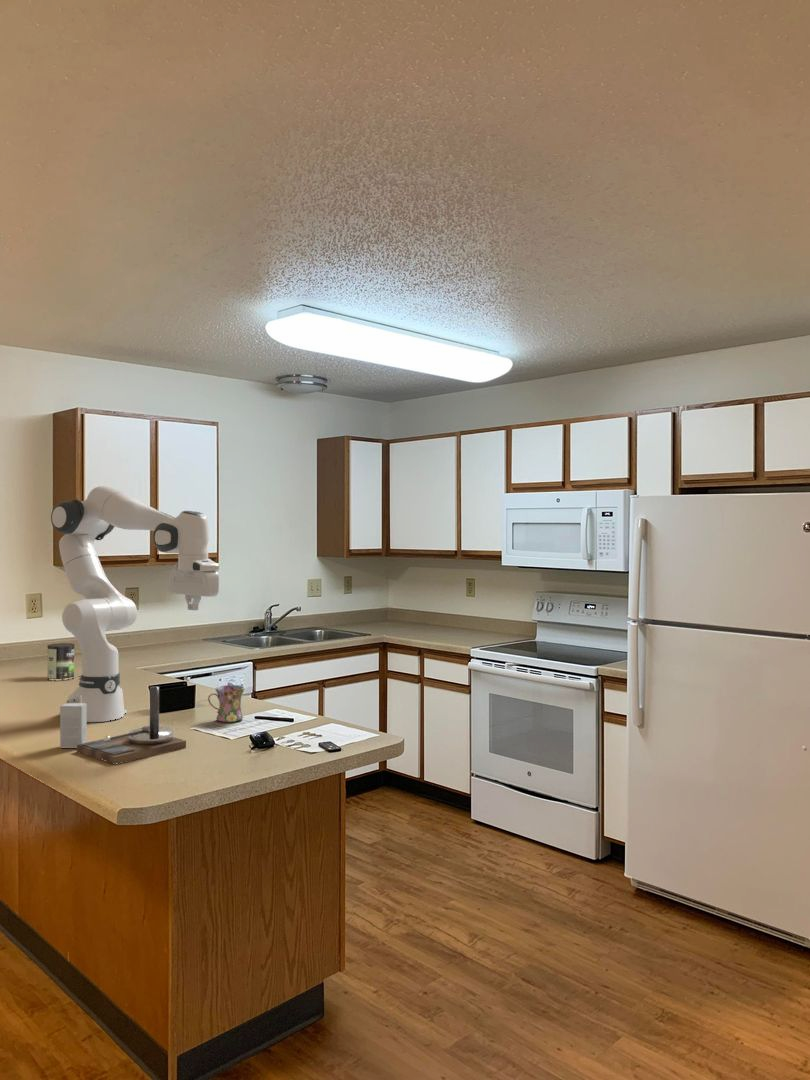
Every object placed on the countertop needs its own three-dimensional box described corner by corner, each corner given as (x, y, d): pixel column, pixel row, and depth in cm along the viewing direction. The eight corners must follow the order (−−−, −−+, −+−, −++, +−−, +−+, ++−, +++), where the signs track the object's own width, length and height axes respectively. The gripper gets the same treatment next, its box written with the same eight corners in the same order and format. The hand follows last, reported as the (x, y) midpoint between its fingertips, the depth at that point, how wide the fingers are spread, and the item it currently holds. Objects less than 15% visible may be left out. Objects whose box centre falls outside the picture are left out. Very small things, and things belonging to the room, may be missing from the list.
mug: (237, 715, 266) (237, 683, 266) (249, 721, 259) (249, 688, 258) (202, 720, 259) (202, 687, 259) (213, 726, 252) (213, 692, 252)
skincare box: (87, 745, 228) (87, 702, 228) (81, 749, 224) (81, 706, 224) (65, 745, 228) (65, 702, 228) (59, 749, 224) (59, 706, 224)
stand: (76, 751, 221) (76, 743, 221) (147, 736, 238) (147, 728, 238) (115, 764, 209) (115, 755, 209) (185, 747, 226) (186, 739, 226)
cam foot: (94, 745, 219) (94, 687, 219) (155, 731, 235) (155, 676, 235) (125, 754, 211) (125, 693, 211) (186, 738, 227) (186, 682, 227)
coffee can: (78, 676, 335) (78, 643, 335) (67, 681, 325) (68, 646, 325) (54, 676, 335) (54, 642, 335) (42, 681, 325) (42, 646, 325)
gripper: (164, 563, 248) (163, 608, 248) (205, 565, 235) (205, 613, 235) (181, 563, 253) (181, 607, 253) (222, 565, 240) (222, 611, 240)
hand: (192, 610), depth 244 cm, fingers closed
